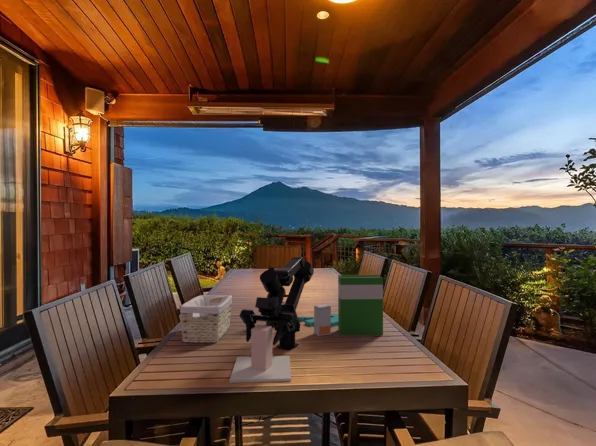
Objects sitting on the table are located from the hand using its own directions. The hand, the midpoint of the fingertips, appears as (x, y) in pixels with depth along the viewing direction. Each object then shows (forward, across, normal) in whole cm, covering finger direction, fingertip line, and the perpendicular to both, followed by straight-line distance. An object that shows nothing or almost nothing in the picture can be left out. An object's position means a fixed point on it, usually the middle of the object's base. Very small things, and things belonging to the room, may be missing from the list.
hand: (260, 342), depth 112 cm
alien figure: (-37, +2, +51) cm, 63 cm away
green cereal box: (-29, +23, +42) cm, 56 cm away
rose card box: (+5, 0, +7) cm, 8 cm away
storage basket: (-12, -37, +25) cm, 46 cm away
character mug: (-27, -16, +40) cm, 50 cm away
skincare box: (-24, +8, +37) cm, 44 cm away
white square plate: (+5, 0, +7) cm, 9 cm away
